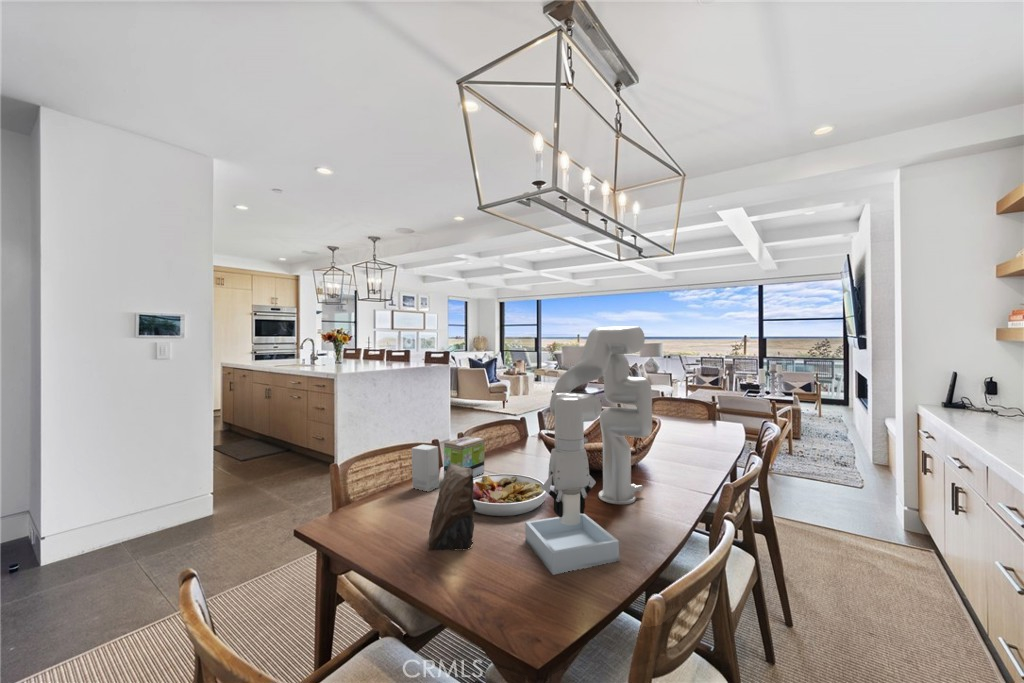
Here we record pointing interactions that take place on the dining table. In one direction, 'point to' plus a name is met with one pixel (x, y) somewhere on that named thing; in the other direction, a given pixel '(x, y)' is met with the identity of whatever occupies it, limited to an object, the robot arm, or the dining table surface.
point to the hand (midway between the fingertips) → (569, 512)
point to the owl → (453, 511)
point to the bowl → (507, 494)
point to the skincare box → (425, 467)
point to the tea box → (465, 454)
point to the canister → (571, 506)
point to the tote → (571, 544)
